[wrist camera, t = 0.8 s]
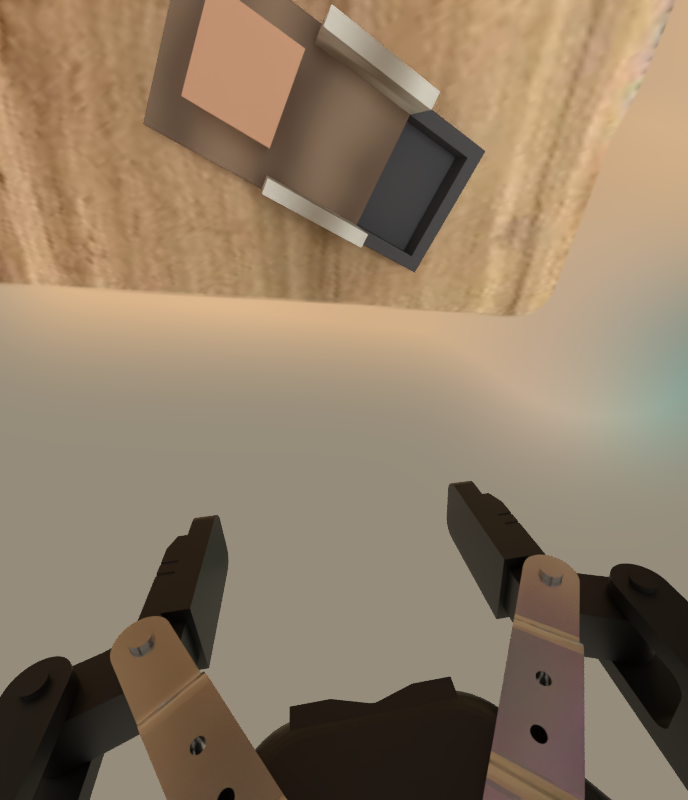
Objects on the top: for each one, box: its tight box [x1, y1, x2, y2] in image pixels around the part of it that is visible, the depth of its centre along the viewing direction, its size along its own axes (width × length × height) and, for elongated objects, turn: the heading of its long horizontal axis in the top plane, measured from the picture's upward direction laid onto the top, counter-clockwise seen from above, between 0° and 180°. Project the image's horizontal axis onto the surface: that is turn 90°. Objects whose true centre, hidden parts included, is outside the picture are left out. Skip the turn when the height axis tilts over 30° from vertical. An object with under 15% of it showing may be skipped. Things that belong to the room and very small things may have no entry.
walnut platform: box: [143, 0, 440, 248], centre depth 25 cm, size 16×10×6 cm, turn 62°
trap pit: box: [357, 109, 485, 272], centre depth 31 cm, size 6×10×2 cm, turn 152°
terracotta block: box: [181, 0, 305, 148], centre depth 22 cm, size 5×5×5 cm
